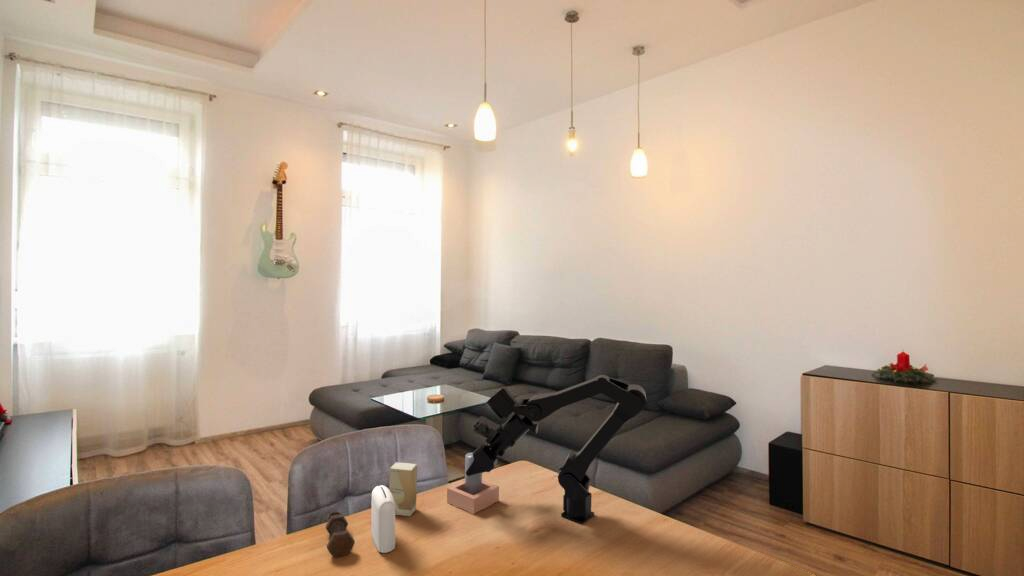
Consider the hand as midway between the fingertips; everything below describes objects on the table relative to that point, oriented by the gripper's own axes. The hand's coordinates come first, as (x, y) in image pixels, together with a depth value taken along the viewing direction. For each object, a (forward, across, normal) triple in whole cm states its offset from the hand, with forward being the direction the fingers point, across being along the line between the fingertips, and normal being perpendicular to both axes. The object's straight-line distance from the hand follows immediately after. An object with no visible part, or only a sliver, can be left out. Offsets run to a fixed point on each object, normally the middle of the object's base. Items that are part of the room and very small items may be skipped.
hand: (472, 467), depth 134 cm
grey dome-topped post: (+6, 0, +6) cm, 8 cm away
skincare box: (+18, +10, -4) cm, 21 cm away
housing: (+6, 0, +7) cm, 9 cm away
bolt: (+24, +26, -10) cm, 37 cm away
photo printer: (+16, +25, -3) cm, 30 cm away
